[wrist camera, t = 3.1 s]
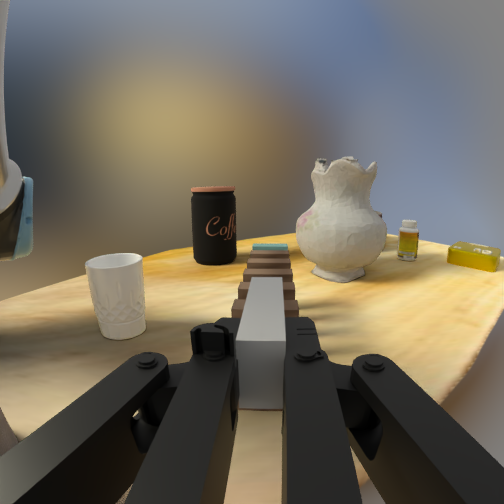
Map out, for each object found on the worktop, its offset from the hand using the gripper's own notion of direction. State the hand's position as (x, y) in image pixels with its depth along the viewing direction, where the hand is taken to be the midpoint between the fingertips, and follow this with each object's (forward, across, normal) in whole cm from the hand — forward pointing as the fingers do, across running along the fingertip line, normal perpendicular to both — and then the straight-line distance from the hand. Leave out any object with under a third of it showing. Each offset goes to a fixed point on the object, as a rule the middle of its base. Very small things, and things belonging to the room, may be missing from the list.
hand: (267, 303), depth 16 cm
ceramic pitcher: (+51, +14, -13) cm, 54 cm away
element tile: (+58, +56, -14) cm, 82 cm away
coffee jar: (+60, -14, -13) cm, 63 cm away
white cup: (+21, -20, -13) cm, 32 cm away
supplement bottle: (+62, +36, -13) cm, 73 cm away
